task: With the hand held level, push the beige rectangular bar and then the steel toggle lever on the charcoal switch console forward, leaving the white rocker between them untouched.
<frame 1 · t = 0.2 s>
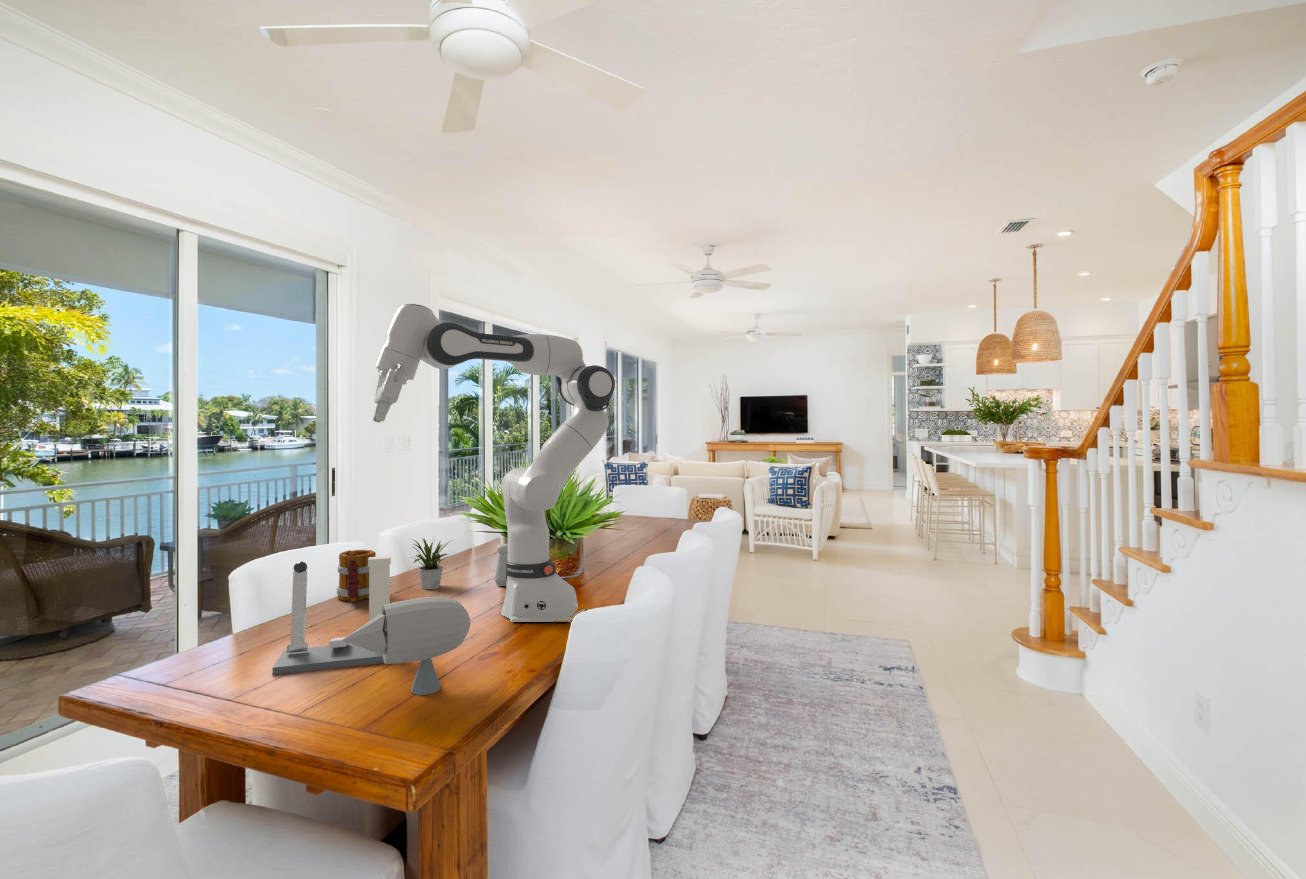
hand: (378, 421, 143), 51 cm above the table, tool tilted 20°, fingers open, 8 cm apart
white rocker: (339, 642, 131), point 3 cm above the table, hinge at -12.0°
jet engine: (411, 691, 114), on the table
house plant: (426, 588, 186), on the table
beige rectangular bar: (379, 600, 133), point 11 cm above the table, slide at 0.0 cm
salt shaker: (503, 585, 190), on the table
mug: (356, 599, 174), on the table
console: (339, 655, 131), on the table
steel toggle lever: (299, 606, 129), point 11 cm above the table, hinge at -10.0°
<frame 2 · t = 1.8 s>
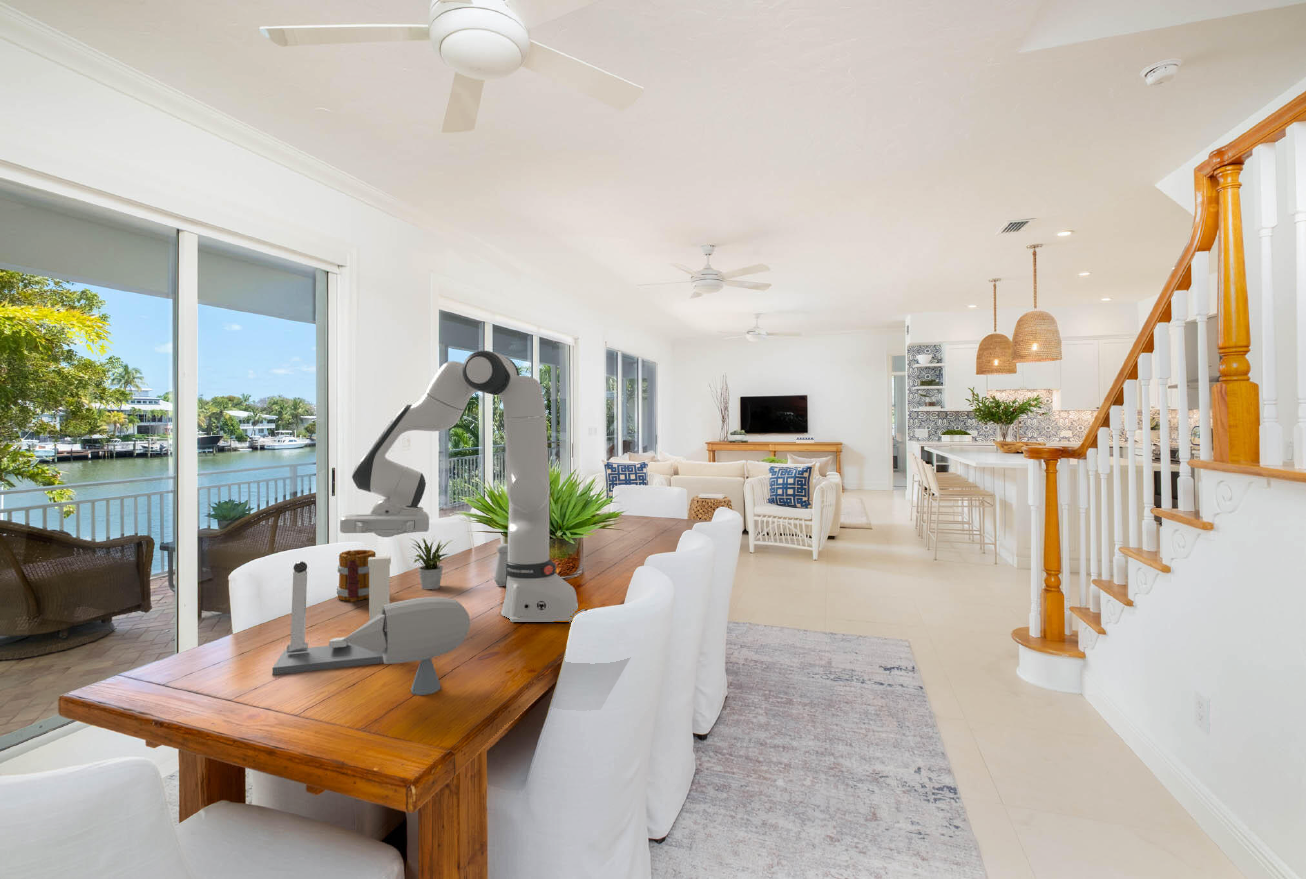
hand: (384, 529, 143), 26 cm above the table, tool horizontal, fingers open, 8 cm apart
nothing on the table moved.
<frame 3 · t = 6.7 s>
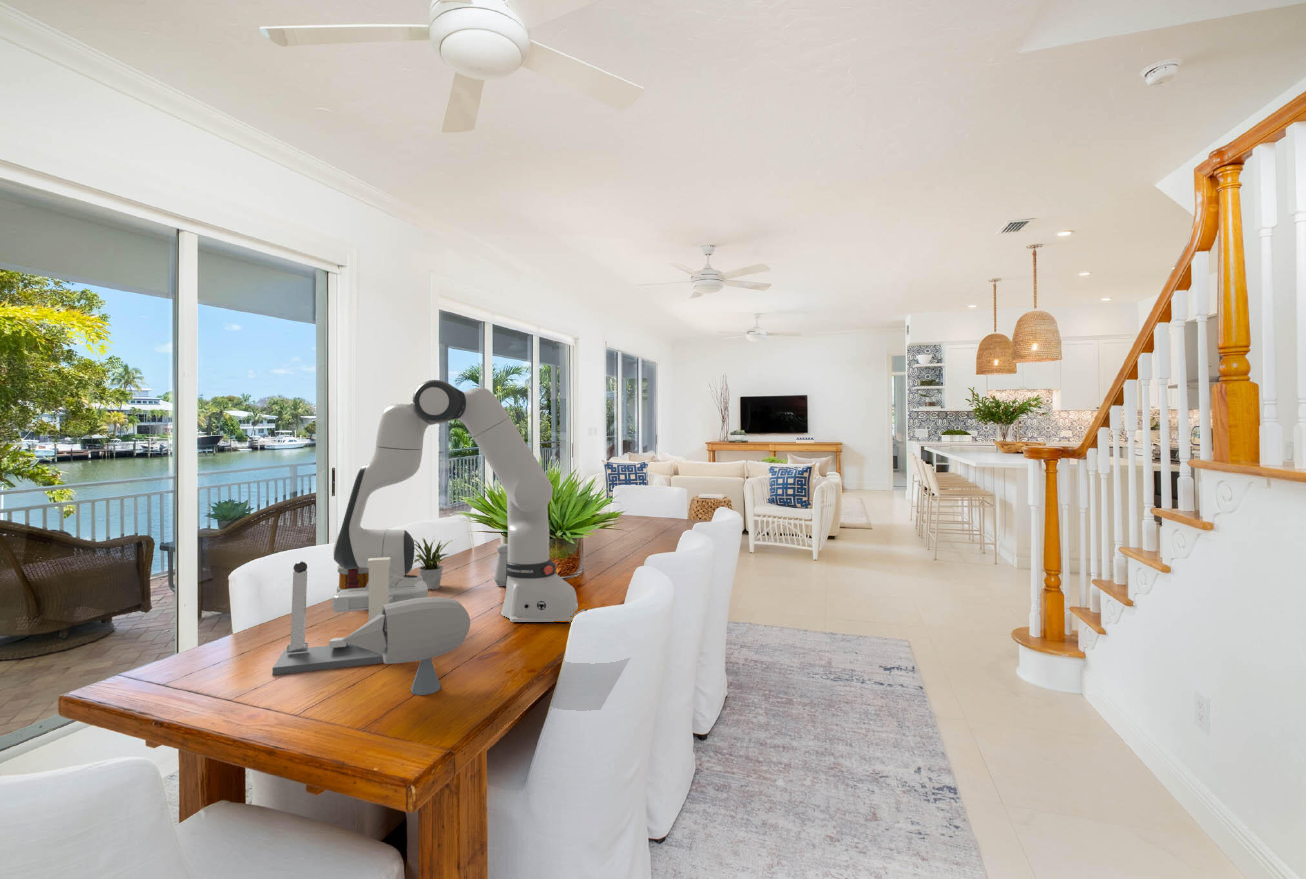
hand: (379, 607, 133), 10 cm above the table, tool horizontal, fingers closed, pressing on beige rectangular bar
beige rectangular bar: (379, 602, 132), point 11 cm above the table, slide at 1.1 cm, touching gripper
everything else where it was.
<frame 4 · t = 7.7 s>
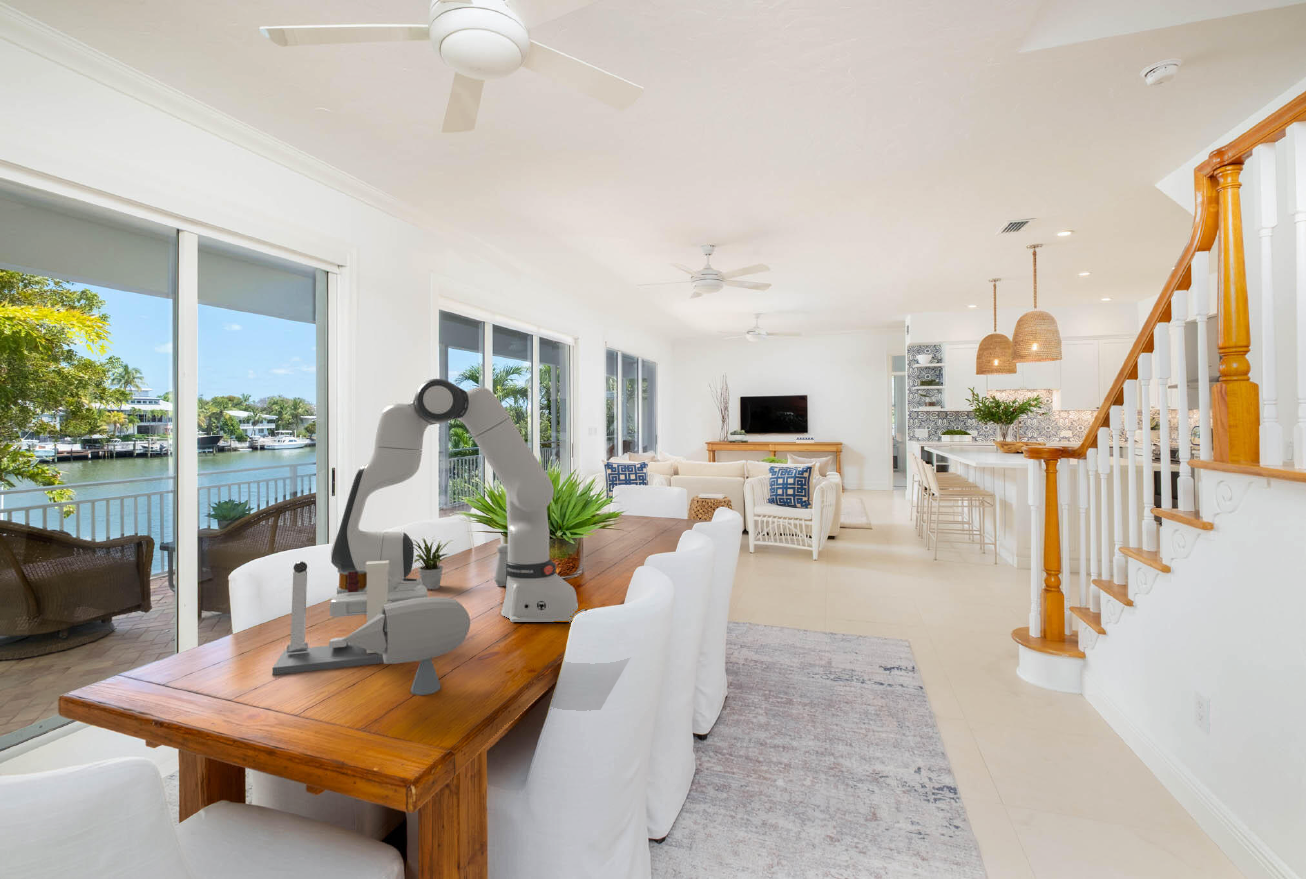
hand: (377, 612, 130), 10 cm above the table, tool horizontal, fingers closed, pressing on beige rectangular bar
beige rectangular bar: (377, 606, 129), point 11 cm above the table, slide at 4.5 cm, touching gripper
everything else where it was.
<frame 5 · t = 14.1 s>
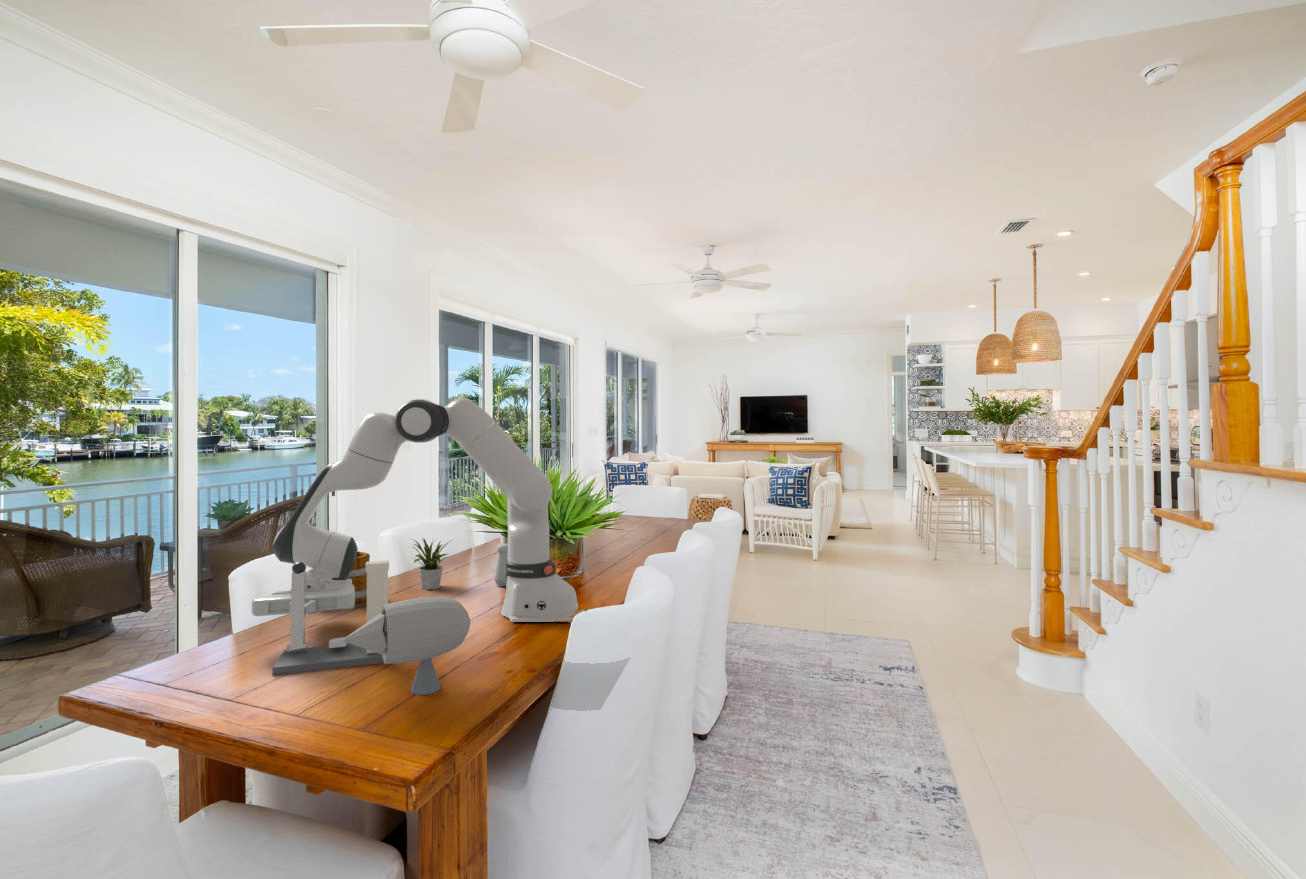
hand: (298, 611, 129), 10 cm above the table, tool horizontal, fingers closed, pressing on steel toggle lever
beige rectangular bar: (377, 606, 129), point 11 cm above the table, slide at 4.6 cm
mug: (341, 602, 171), on the table
steel toggle lever: (298, 606, 129), point 11 cm above the table, hinge at -5.2°, touching gripper
everything else where it was.
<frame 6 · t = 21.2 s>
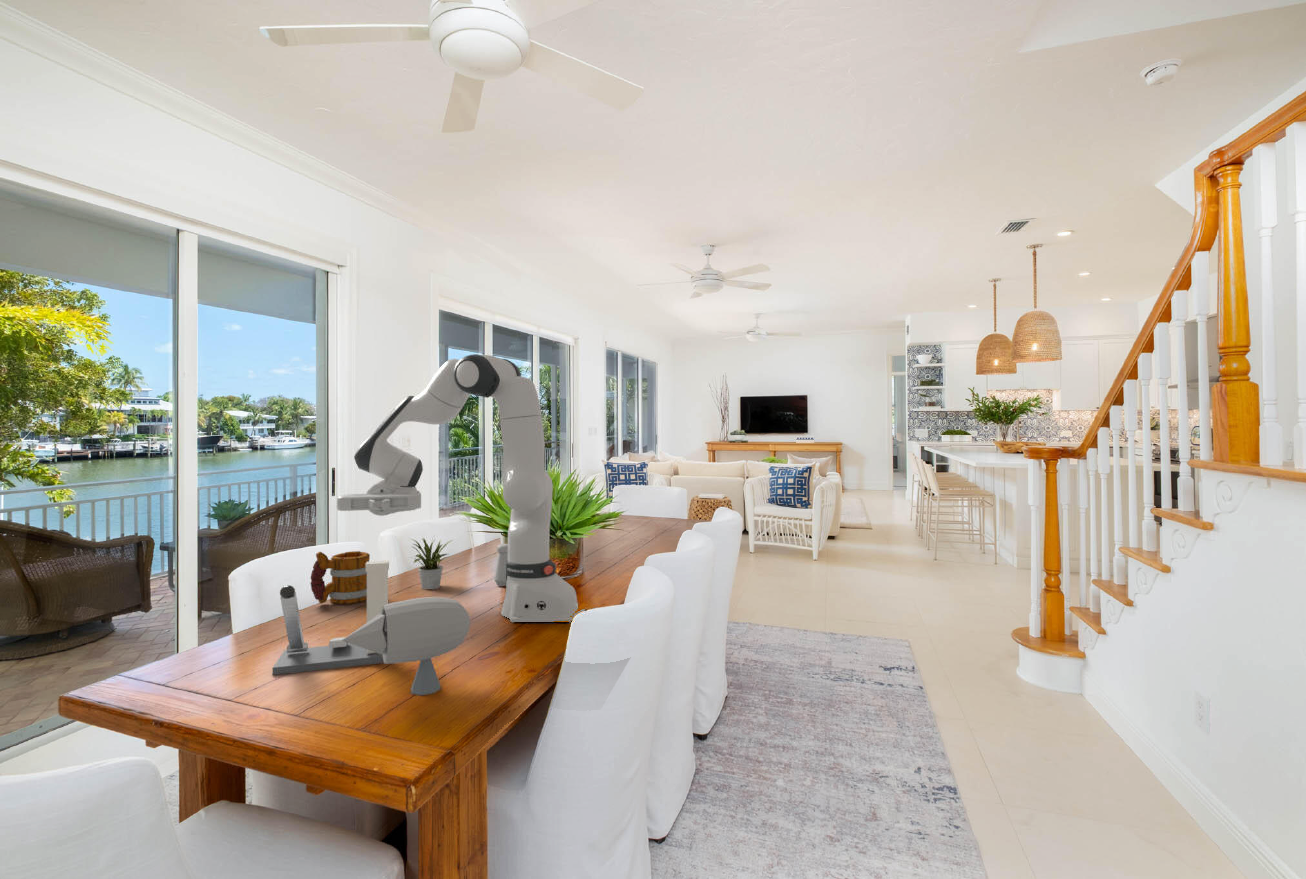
hand: (377, 505, 152), 30 cm above the table, tool horizontal, fingers closed
steel toggle lever: (292, 620, 124), point 10 cm above the table, hinge at 31.6°
everything else where it was.
at the end: beige rectangular bar slide at 4.6 cm; steel toggle lever at +32° (first picture: -10°); white rocker at -12° (first picture: -12°) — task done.
